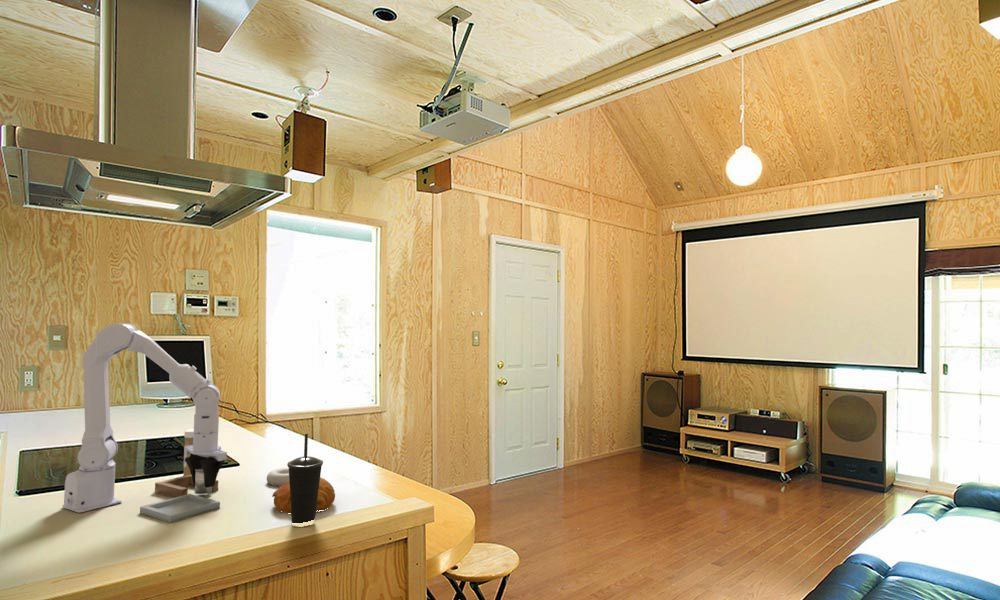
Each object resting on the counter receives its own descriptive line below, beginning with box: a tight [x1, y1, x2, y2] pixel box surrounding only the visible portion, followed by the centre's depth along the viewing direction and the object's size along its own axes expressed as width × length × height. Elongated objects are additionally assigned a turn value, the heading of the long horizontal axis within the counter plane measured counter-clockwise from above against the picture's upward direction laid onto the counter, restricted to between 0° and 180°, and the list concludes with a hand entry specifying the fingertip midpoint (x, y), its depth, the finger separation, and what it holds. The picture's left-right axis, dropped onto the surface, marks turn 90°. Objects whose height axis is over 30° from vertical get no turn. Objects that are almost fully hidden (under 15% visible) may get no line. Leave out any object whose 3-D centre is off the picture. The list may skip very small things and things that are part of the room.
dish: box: [139, 493, 221, 524], centre depth 136 cm, size 12×12×2 cm
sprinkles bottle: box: [182, 428, 194, 476], centre depth 165 cm, size 5×5×13 cm
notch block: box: [154, 475, 219, 498], centre depth 151 cm, size 10×12×2 cm
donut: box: [266, 467, 289, 487], centre depth 161 cm, size 10×4×10 cm
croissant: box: [272, 476, 336, 514], centre depth 141 cm, size 14×16×8 cm
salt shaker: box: [194, 466, 213, 495], centre depth 148 cm, size 4×4×6 cm
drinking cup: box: [286, 433, 324, 524], centre depth 129 cm, size 8×8×20 cm
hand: (203, 485), depth 148 cm, fingers closed on salt shaker, 4 cm apart
